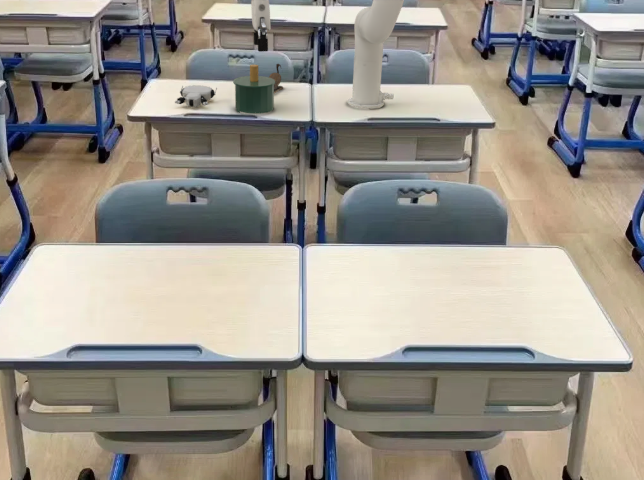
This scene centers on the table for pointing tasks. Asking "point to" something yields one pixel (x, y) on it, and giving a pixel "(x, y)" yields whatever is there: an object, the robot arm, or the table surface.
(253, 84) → the lid
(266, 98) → the tin
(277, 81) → the figurine
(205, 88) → the robot toy
